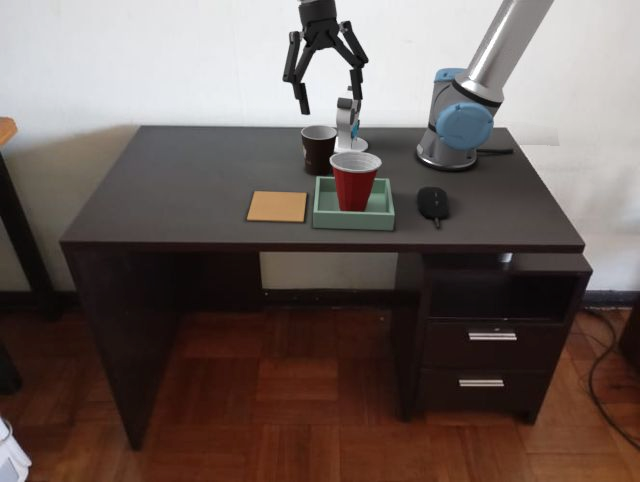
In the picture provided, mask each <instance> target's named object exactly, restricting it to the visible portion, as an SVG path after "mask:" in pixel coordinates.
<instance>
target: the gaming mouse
mask: <svg viewBox="0 0 640 482" xmlns="http://www.w3.org/2000/svg"><path fill="white" fill-rule="evenodd" d="M417 201H418V205H419V209H420V211H421V213H422V215H423V216H425V217H426V218H429V219H434V220H435V224H436V227H437V229H439V228H440V225H439V223H440V221H439V220H441V219H445V218H446V217H447V216H448V215H449V202H448V194H447V192H446V190H445V189H443V188H441V187H439V186H425V187H422V188H420V189H419V191H418V192H417Z"/></svg>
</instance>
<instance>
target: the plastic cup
mask: <svg viewBox="0 0 640 482" xmlns="http://www.w3.org/2000/svg"><path fill="white" fill-rule="evenodd" d="M330 163H331V165H332V167H331V168H332V171H333V177H335V183H336V190H337V197H338V202H339V208H340V210H341V211H346V212H364V211H365V209H366V207H367V203H368V199H369V197H370V194H371V190H372V187H373V183H374V179H375V178H376V176H377V173H378V171H379V168H380V167H381V166H382V160H381V158H379V157H378V156H377V155H375V154H372V153H368V152H365V151H364V152H357V151H347V152H340V153H334V155H333V156H332V157H331V158H330Z"/></svg>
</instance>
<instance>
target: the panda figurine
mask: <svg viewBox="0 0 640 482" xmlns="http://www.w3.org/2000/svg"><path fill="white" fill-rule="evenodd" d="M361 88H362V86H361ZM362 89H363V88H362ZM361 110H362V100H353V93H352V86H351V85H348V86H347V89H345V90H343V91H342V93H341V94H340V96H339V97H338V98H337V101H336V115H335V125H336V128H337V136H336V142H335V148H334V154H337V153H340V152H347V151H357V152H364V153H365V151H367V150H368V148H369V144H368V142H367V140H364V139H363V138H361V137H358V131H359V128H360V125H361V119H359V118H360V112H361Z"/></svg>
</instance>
